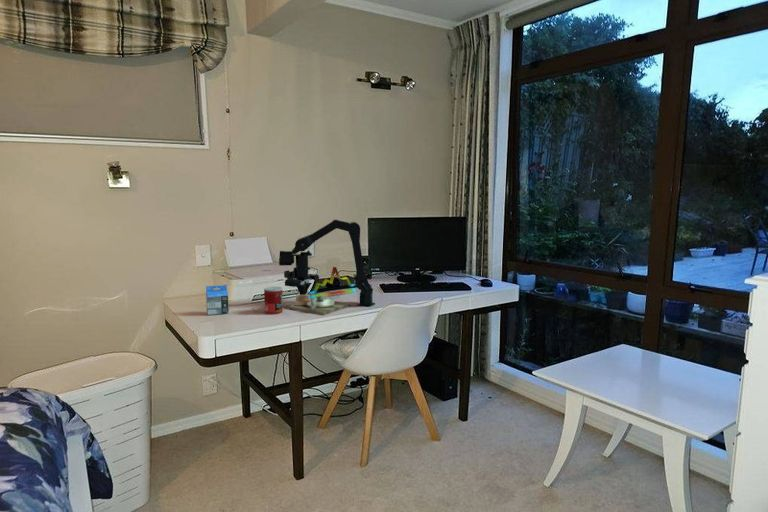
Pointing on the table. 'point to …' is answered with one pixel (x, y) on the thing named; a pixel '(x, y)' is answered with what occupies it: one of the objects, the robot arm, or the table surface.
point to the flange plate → (320, 301)
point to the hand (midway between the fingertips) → (302, 298)
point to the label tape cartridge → (217, 300)
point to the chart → (331, 283)
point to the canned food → (273, 300)
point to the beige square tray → (322, 310)
